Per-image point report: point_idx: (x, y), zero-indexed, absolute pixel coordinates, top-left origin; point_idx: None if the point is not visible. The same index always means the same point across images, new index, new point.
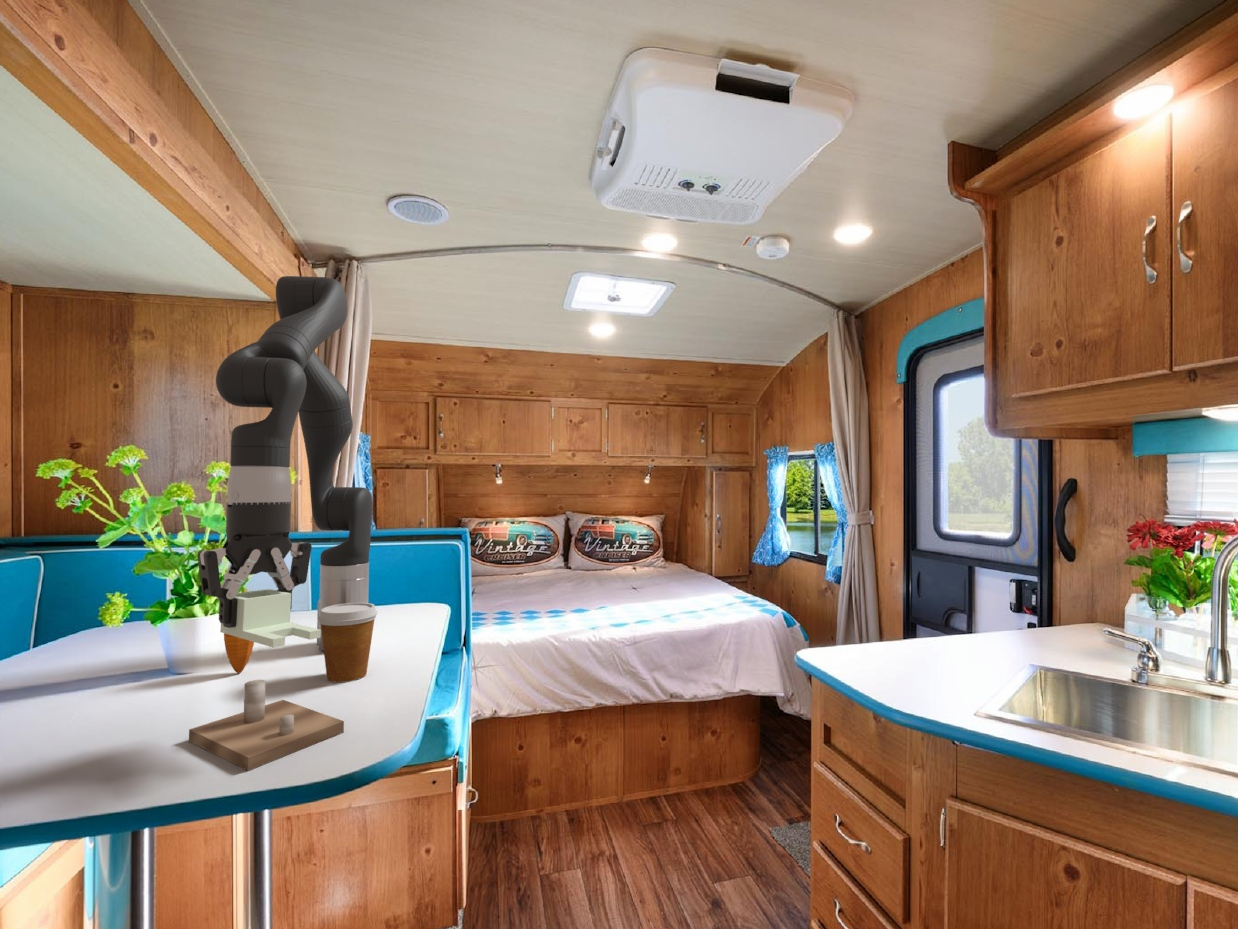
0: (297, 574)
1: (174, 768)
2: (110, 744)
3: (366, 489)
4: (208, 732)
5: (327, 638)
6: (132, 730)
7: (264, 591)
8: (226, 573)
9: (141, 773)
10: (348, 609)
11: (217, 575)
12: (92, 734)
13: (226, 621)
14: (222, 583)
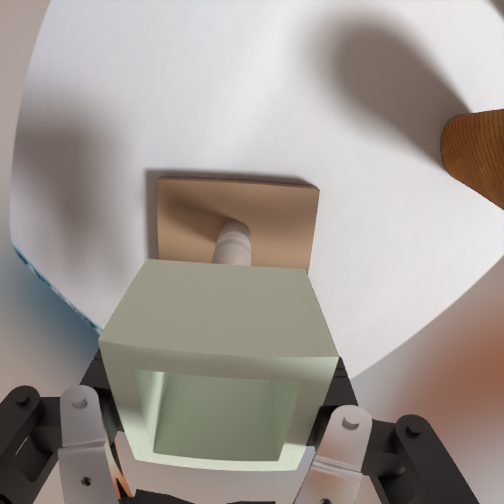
0: (380, 487)
1: (119, 252)
2: (101, 84)
3: None
4: (168, 221)
5: (487, 155)
6: (140, 48)
7: (294, 376)
8: (62, 469)
9: (92, 230)
10: None
11: (32, 492)
12: (108, 20)
13: None
14: (62, 434)
